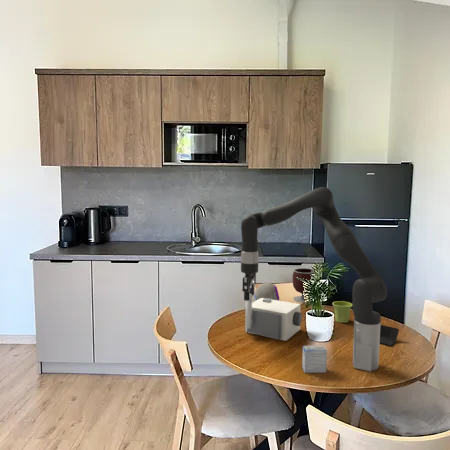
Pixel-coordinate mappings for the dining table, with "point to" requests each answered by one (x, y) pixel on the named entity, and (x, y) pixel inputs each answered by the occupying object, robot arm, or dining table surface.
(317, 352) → the medicine box
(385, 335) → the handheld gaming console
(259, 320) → the side door
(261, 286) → the grey rounded dome
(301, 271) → the mate gourd
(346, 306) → the plant pot
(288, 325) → the cabinet housing
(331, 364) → the dining table surface
